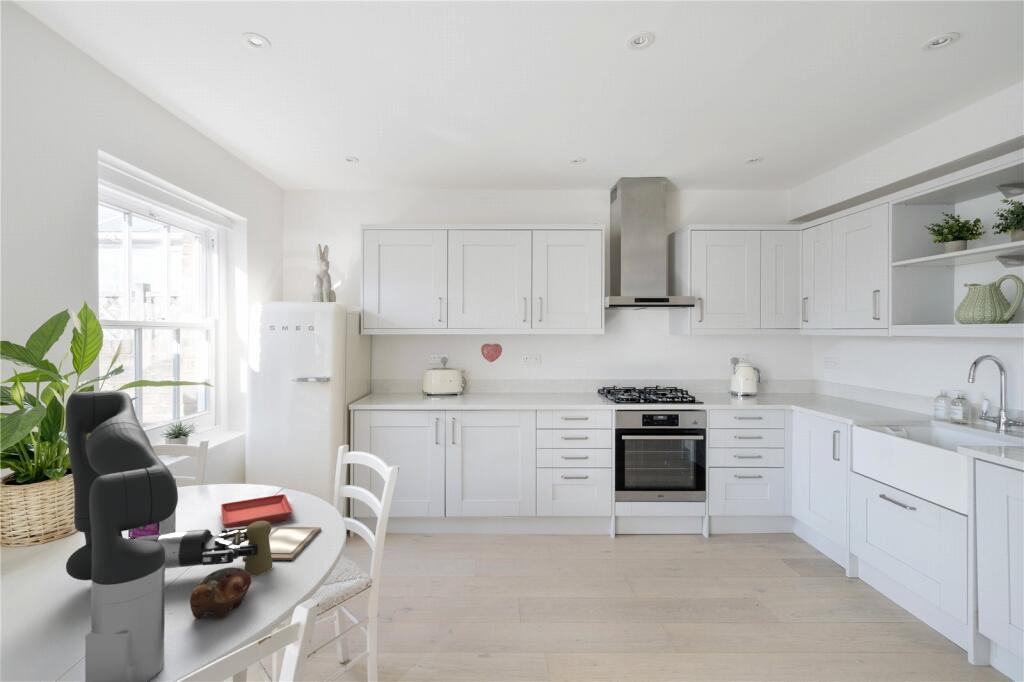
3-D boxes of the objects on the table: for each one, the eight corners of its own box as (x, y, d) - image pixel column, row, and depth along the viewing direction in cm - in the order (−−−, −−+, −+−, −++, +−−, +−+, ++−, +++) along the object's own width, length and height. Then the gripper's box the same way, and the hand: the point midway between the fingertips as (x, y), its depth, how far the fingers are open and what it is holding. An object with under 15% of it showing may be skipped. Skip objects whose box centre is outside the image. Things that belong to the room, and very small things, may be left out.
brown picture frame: (291, 560, 114) (291, 556, 114) (242, 560, 113) (242, 556, 113) (320, 529, 132) (321, 526, 132) (278, 529, 131) (278, 525, 131)
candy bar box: (126, 538, 124) (126, 477, 124) (145, 531, 129) (146, 472, 129) (158, 544, 121) (158, 482, 121) (176, 536, 126) (177, 476, 125)
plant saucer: (220, 513, 143) (220, 503, 143) (285, 503, 153) (285, 493, 153) (222, 535, 128) (222, 523, 128) (293, 522, 138) (293, 511, 138)
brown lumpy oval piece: (169, 634, 85) (170, 590, 86) (219, 594, 101) (219, 556, 101) (223, 632, 86) (223, 588, 86) (265, 592, 101) (264, 554, 101)
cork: (260, 577, 106) (260, 529, 106) (237, 574, 107) (237, 526, 107) (278, 564, 112) (279, 519, 112) (256, 561, 113) (257, 516, 113)
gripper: (170, 546, 98) (255, 538, 103) (195, 520, 112) (269, 514, 116) (169, 581, 98) (255, 571, 103) (195, 551, 112) (269, 543, 117)
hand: (262, 541), depth 110 cm, fingers open, 8 cm apart
